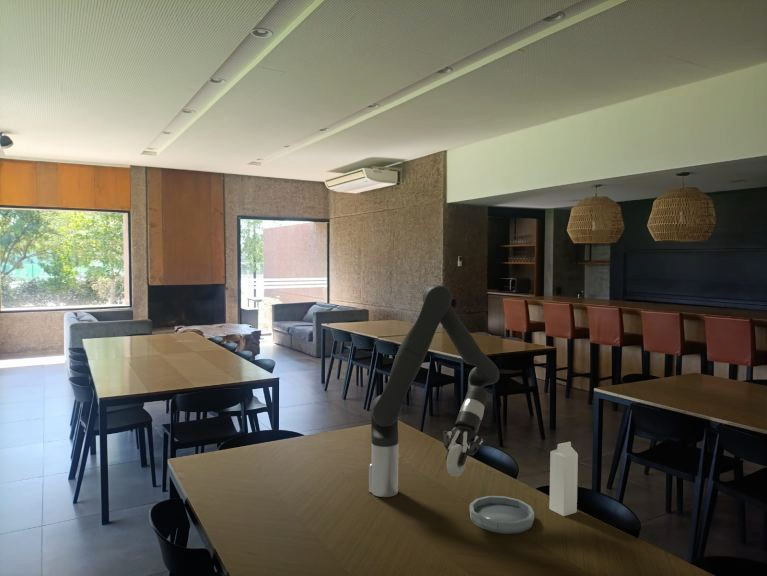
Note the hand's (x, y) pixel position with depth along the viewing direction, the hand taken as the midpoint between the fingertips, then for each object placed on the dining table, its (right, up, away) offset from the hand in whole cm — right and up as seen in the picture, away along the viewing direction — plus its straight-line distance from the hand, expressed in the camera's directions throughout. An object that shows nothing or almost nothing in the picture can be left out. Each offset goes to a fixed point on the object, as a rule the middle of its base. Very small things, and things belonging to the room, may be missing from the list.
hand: (454, 463), depth 173 cm
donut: (+1, -5, +2) cm, 5 cm away
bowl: (+14, -17, -1) cm, 22 cm away
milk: (+35, -17, +4) cm, 39 cm away
